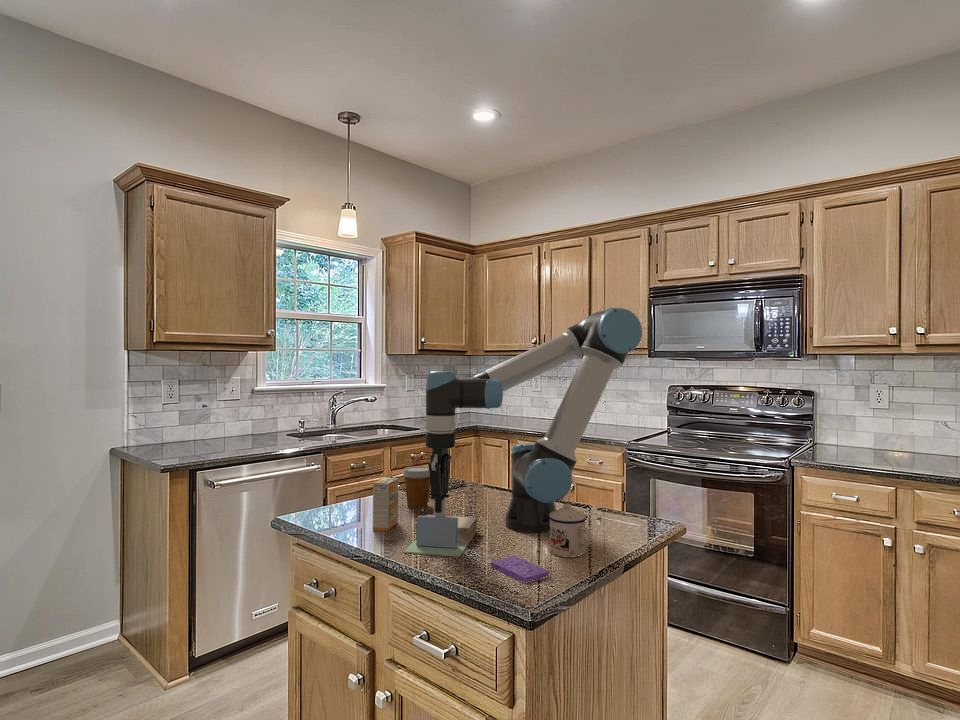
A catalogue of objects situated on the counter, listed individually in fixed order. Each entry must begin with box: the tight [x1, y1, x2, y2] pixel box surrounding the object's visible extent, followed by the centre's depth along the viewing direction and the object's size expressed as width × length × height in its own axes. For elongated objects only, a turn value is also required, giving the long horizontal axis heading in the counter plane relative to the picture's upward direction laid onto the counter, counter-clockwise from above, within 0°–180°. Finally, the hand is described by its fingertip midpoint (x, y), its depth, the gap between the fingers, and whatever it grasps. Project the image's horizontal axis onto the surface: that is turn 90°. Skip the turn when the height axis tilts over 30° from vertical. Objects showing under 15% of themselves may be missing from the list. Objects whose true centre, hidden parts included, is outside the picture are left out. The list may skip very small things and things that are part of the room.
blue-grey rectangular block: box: [415, 515, 458, 548], centre depth 144 cm, size 10×7×2 cm
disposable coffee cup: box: [402, 465, 431, 510], centre depth 184 cm, size 10×10×12 cm
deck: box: [415, 514, 478, 544], centre depth 153 cm, size 14×10×4 cm
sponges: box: [490, 554, 550, 584], centre depth 128 cm, size 7×13×2 cm, turn 34°
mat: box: [403, 539, 470, 558], centre depth 143 cm, size 14×10×1 cm
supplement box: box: [372, 477, 399, 532], centre depth 162 cm, size 8×5×13 cm, turn 168°
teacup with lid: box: [549, 503, 593, 558], centre depth 140 cm, size 12×9×12 cm
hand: (439, 524), depth 147 cm, fingers closed
